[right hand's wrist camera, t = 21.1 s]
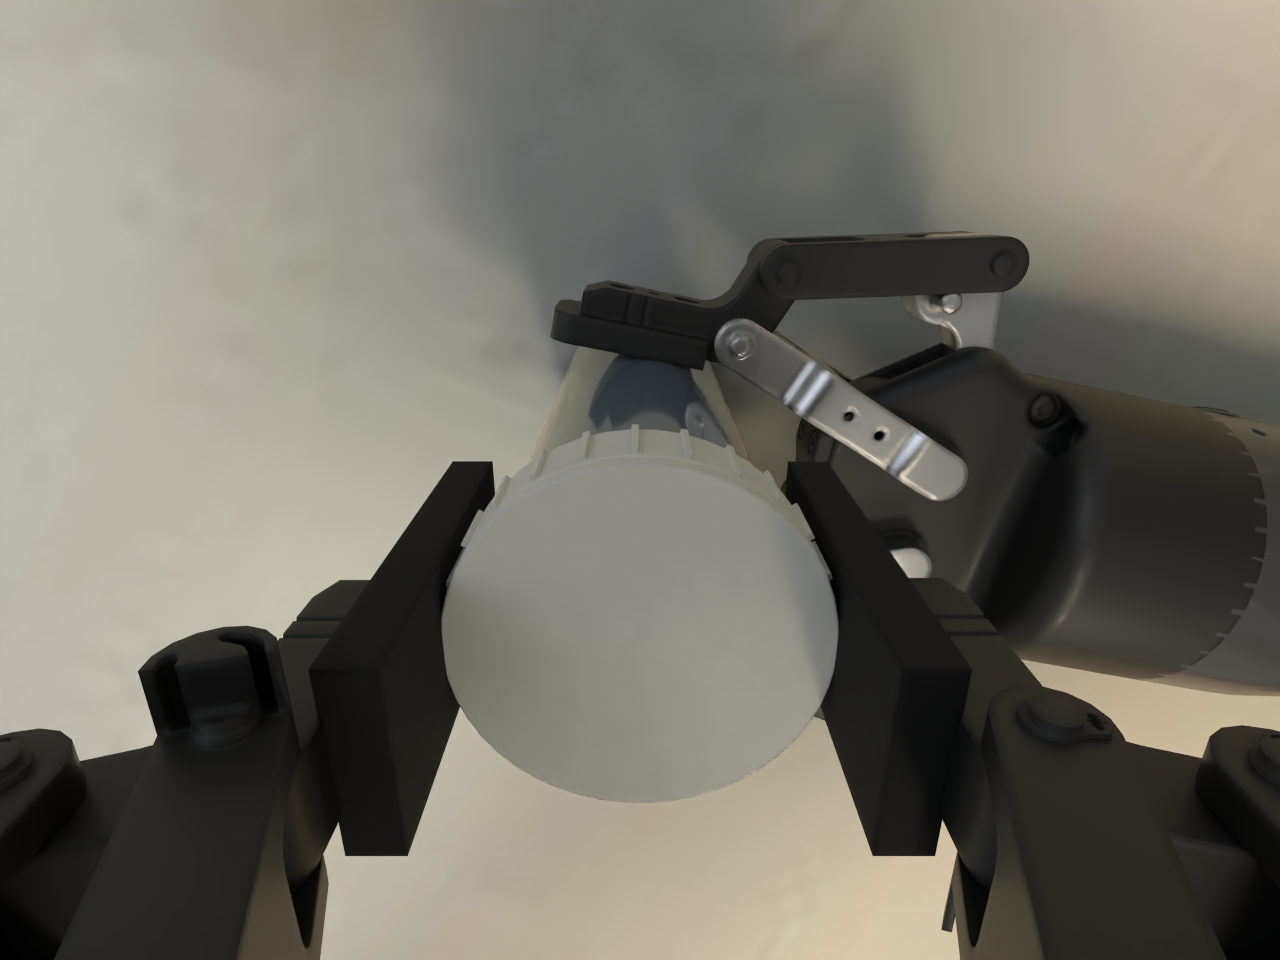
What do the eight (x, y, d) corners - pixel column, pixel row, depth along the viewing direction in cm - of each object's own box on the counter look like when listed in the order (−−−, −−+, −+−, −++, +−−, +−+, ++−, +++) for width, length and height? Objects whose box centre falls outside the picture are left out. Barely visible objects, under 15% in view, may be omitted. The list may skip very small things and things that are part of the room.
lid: (680, 787, 13) (685, 861, 12) (396, 632, 12) (361, 694, 11) (894, 554, 12) (931, 607, 10) (587, 346, 10) (578, 371, 9)
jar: (716, 445, 26) (802, 727, 12) (578, 459, 26) (510, 751, 12) (707, 304, 24) (793, 449, 10) (558, 319, 24) (452, 482, 11)
